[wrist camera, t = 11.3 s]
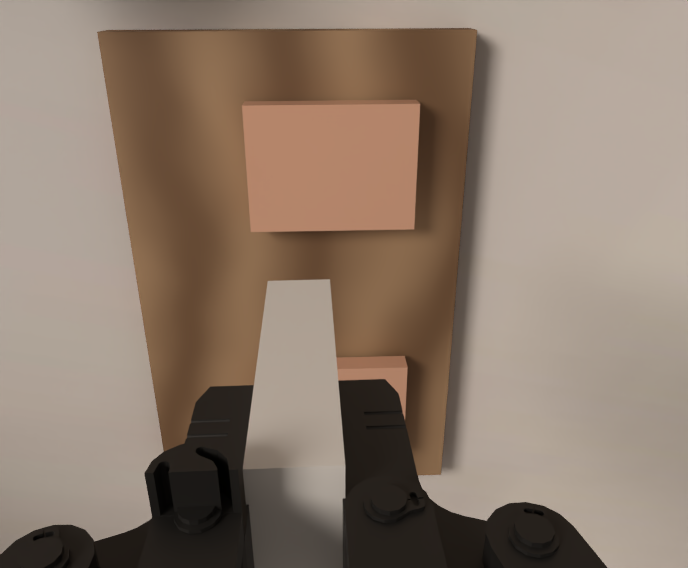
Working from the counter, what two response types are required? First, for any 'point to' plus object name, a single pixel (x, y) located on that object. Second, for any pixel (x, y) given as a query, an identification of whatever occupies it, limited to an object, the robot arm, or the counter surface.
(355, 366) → the tile
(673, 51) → the counter surface
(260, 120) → the tile
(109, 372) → the counter surface
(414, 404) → the board
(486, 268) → the counter surface
